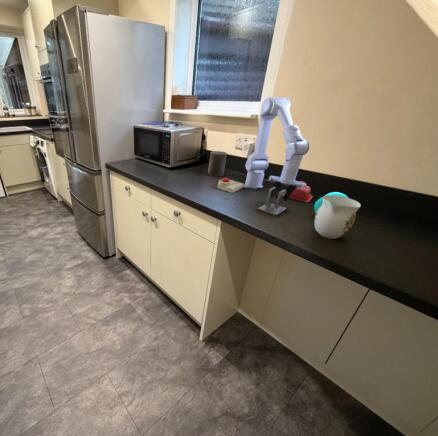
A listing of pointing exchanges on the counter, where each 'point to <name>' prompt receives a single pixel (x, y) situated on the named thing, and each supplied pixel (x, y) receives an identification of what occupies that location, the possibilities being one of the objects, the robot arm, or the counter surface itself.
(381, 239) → the counter surface
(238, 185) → the button box
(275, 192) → the lever
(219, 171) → the pillar candle
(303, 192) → the butter dish
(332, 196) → the pitcher
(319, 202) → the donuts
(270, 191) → the bracket
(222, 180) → the button
